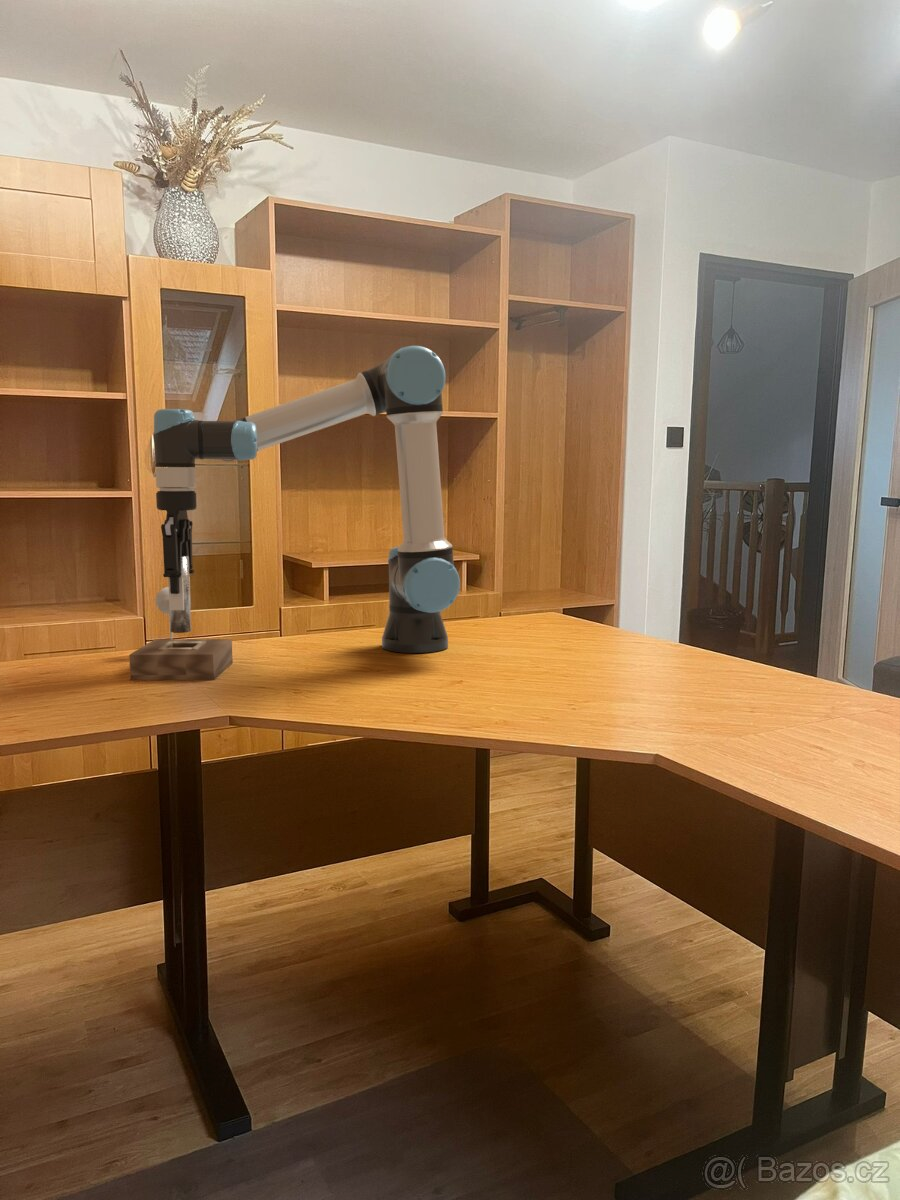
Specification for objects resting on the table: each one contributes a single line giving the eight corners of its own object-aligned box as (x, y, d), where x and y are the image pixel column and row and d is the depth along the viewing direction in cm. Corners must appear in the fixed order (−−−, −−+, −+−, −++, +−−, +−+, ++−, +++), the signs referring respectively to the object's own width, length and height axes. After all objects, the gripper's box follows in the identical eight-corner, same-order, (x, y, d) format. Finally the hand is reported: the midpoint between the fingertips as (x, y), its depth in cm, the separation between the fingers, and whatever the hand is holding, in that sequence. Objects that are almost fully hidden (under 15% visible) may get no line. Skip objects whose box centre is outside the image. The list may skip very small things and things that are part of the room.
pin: (193, 629, 182) (191, 555, 180) (187, 633, 178) (185, 557, 176) (173, 629, 182) (170, 555, 180) (167, 632, 178) (164, 557, 176)
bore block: (232, 662, 189) (231, 637, 188) (214, 679, 173) (213, 652, 173) (156, 662, 189) (155, 637, 188) (130, 680, 173) (129, 653, 172)
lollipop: (180, 657, 194) (177, 588, 192) (153, 657, 194) (150, 588, 192) (189, 652, 200) (186, 585, 198) (163, 652, 200) (160, 585, 198)
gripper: (169, 488, 184) (173, 601, 188) (142, 490, 168) (147, 614, 171) (206, 489, 185) (209, 602, 188) (183, 490, 168) (187, 614, 171)
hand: (180, 607), depth 179 cm, fingers closed on pin, 4 cm apart
